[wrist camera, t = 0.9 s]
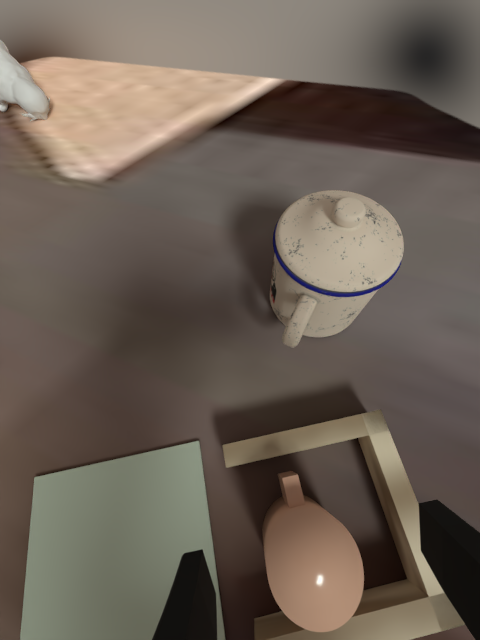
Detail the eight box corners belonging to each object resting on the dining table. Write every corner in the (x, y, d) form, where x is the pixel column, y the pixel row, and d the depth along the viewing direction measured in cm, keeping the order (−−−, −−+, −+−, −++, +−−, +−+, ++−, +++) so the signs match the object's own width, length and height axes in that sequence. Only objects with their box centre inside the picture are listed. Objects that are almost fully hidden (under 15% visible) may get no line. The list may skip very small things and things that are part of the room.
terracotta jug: (343, 569, 19) (379, 618, 14) (271, 587, 19) (280, 644, 13) (313, 463, 22) (334, 468, 16) (250, 477, 22) (250, 487, 16)
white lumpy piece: (-22, 11, 38) (36, 48, 35) (22, 84, 46) (71, 117, 43) (-67, 31, 36) (-9, 70, 33) (-13, 103, 44) (37, 139, 41)
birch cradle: (439, 602, 18) (466, 624, 16) (259, 650, 18) (260, 679, 15) (367, 413, 23) (380, 409, 21) (225, 445, 23) (222, 445, 20)
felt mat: (229, 663, 17) (228, 666, 17) (15, 721, 17) (12, 723, 17) (199, 440, 23) (198, 440, 23) (36, 476, 22) (34, 477, 22)
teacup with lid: (289, 248, 31) (310, 142, 20) (372, 280, 28) (444, 181, 18) (237, 340, 26) (227, 268, 16) (329, 386, 24) (390, 339, 14)
